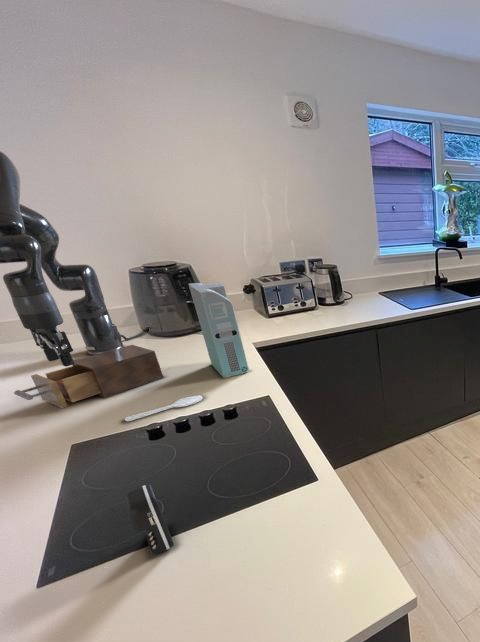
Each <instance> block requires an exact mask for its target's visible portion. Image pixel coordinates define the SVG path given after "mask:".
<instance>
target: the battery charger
mask: <svg viewBox="0 0 480 642" xmlns="http://www.w3.org/2000/svg"><path fill="white" fill-rule="evenodd" d="M124 499H125V500H124V501H125V504H126V508H127V512H128V514H129V517H130V520H131V524H132V526H133V528H134V530H135V531H136V532H142V531H145V530H147V531H148V533H147V534H146V542H147V545H148V547H149V551H150V552H151V554H153V555H156V554H160V553H162V552H164V551H167V550H170V549H172V548H173V547H174V546H175V543H174V540H173V537H172V535H171V532H170V530H169V527H168V524H167V522H166V519H165V517H164V514H163V512H162V510H161V507H160V504H159V502H158V500H157V497H156V494H155V492H154V489H153V487H152V484H150V483H149V484H144V485H142V486H139V487H137V488H135V489H132V490H130V491H128V492H127V493H126V494H125V496H124Z"/></svg>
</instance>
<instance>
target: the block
mask: <svg viewBox="0 0 480 642" xmlns="http://www.w3.org/2000/svg"><path fill="white" fill-rule="evenodd" d="M71 377H72V376H71ZM64 379H65V378H64ZM55 382H57V384H58V386H59V388H60V391H61V393H62V395H64V396H66V397H69V396H68V394H67V392H66V390H65V388H64V385H63V383H62V381H61V380H58V381H55Z"/></svg>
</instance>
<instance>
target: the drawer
mask: <svg viewBox="0 0 480 642" xmlns="http://www.w3.org/2000/svg"><path fill="white" fill-rule="evenodd" d="M44 374H45V376H42V375H40V374H36V373H35V374H31V375H30V377H31V379H32V382H33V384H34V386H32V387H29V388H27V389H22V390H20V389H18V390H15V391H14V392H13V394H14V395H15V396H17V397H20V398H21V399H24V400H26V401H32V400H33V399H34V398H36V397H39V396H40V398H41V400H42V401H45V402H47V403H49V404H51V405H54V406H56V407H58V408H61V409H64V408H66V407H67V408H68V404H67V402H66V401H68V402H70V403H75V402H77V401H82V400H85V399H87V398H90V397H94V396H95V395H96V394H99V393H101V391H100V388H99V386H98V383H97V381H96V379H95V376H94V374H93V371H91V370H89V369H86V368H83V367H80V366H77V365H75V366H72V365H70V366H67V367H64V368H60V369H56V370H52V371H50V372H45V373H44ZM71 376H72V377H71ZM64 378H65V379H64ZM58 380H61V381H62V383H63V385H64V388H65V390H66V392H67V394H68V396H69V397H66V396H64V395H62V393H61V391H60V388H59V386H58V384H57V382H55V381H58ZM35 390H37V392H38V393H34V394H30V393H27V392H31V391H35ZM96 396H97V395H96Z"/></svg>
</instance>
